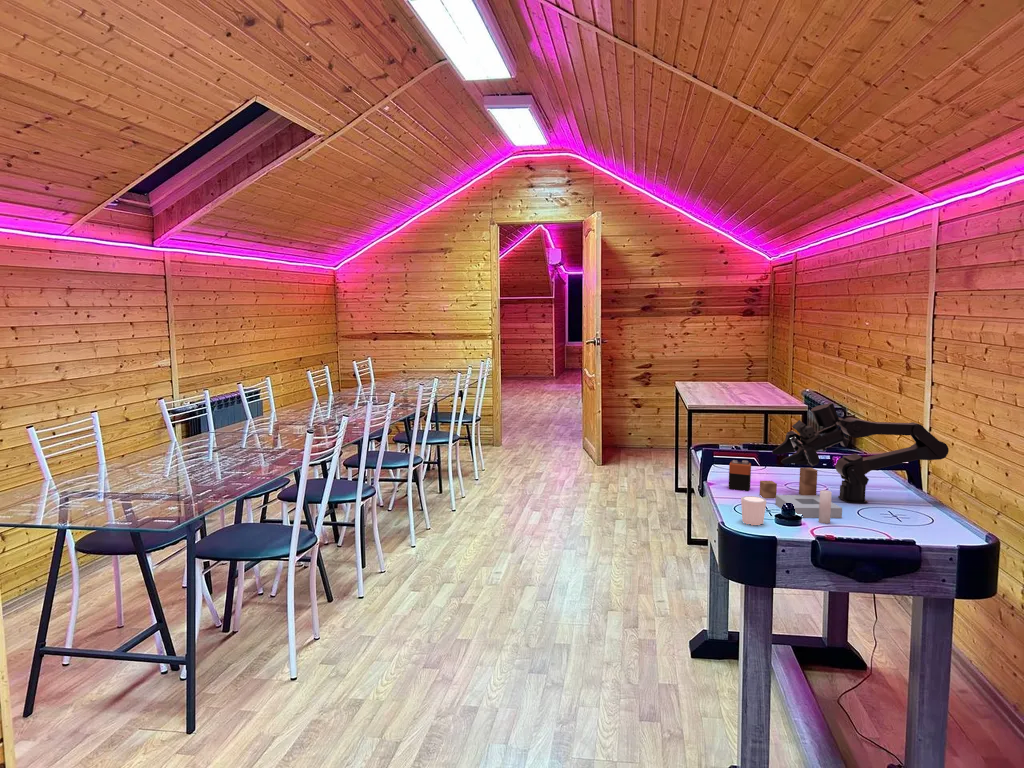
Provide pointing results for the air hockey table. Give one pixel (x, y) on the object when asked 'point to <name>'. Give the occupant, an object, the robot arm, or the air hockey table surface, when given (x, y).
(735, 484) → the battery
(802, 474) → the brown rectangular block
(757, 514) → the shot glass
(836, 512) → the gauge block
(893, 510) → the air hockey table surface
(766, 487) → the short brown block
